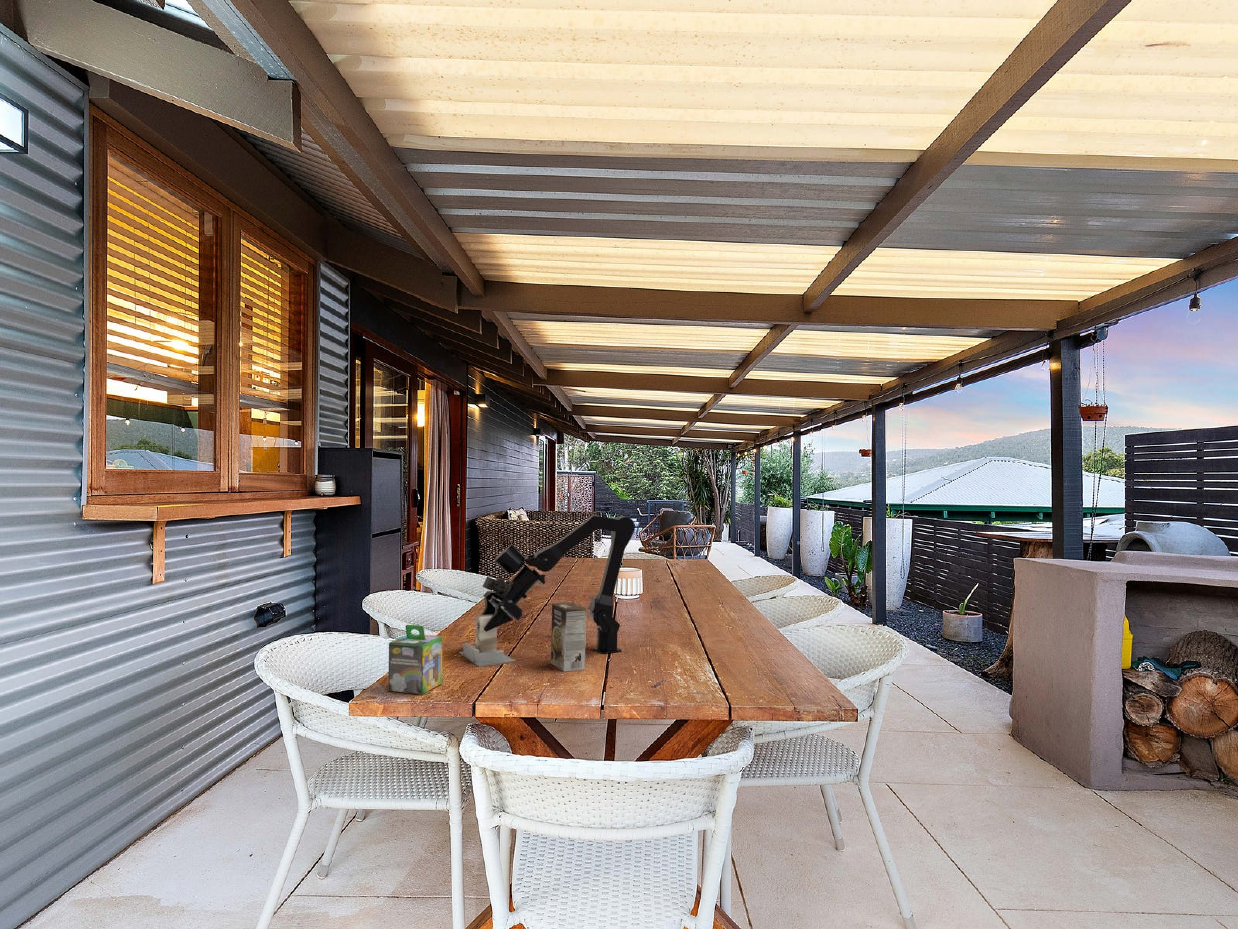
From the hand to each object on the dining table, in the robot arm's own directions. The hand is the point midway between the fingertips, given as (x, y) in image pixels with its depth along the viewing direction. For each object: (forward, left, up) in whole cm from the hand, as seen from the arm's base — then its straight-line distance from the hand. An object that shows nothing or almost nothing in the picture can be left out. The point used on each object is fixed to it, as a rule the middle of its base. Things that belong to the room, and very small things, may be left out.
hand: (481, 628), depth 186 cm
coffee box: (-18, -17, -8) cm, 27 cm away
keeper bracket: (0, -1, -8) cm, 8 cm away
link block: (0, -1, -8) cm, 8 cm away
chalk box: (-18, +23, -8) cm, 30 cm away
